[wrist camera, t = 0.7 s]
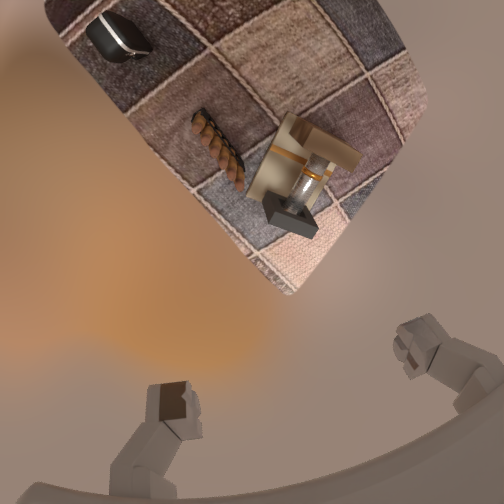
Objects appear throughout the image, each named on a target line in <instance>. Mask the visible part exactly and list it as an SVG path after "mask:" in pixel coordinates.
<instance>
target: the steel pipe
mask: <svg viewBox="0 0 504 504" xmlns="http://www.w3.org/2000/svg"><path fill="white" fill-rule="evenodd" d="M329 164H330V161H328V160H327V159H325V158H323V157H321V156H319V155H317V154H315V153H313V152H312V154H311V155H310V157H309V159H308V161H307V163H306V165H304V166H303V168H302V170H301V171H302V172H301V174H300V175H299V177H298V179H297V181H296V183H295V184H294V186H293V188H292V190H291V192H290V193H289V195H288V197H287V199H286V201H285V202H284V204H283V206H282V209H283V210H285V211H287V212H290V213H292V214H295V215H297V216H299V215H300V213H301V212H302V210H303V208H304V207H305V205H306V203H307V202H308V200H309V198H310V196H311V195H312V193H313V191H314V190H315V188H316V186H317V184H318V183H319V181H321V180H322V178H323V174H324V172H325V171H326V169H327V167H328V165H329ZM284 230H285V229H284Z"/></svg>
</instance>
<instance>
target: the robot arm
mask: <svg viewBox="0 0 504 504" xmlns="http://www.w3.org/2000/svg"><path fill="white" fill-rule="evenodd" d="M396 332H397V334H398V335H397V336H396V338H395V339H394V342H393V350H394V353H395V355H396V357H397V359H398V360H399V361H401V362H403V363H404V365H403V369H404V370H405V372H406V374H407V375H408V377H409V378H410V380H411V379H414V378H416V377H418V376H420V375H422V374H425V373H427V374H428V375H430V376H431V377H433V378H435V379H436V380H438V381H440V382H441V383H443V384H444V385H446V386H448V387H449V388H451V389H453V390H454V391H456V392H458V393H459V395H458V396H457V398H456V399H455V400H454V403H453V406H454V407H455V409H456V411H457V413H458V414H459V415H458V416H456V417H454V418H453V419H451V420H450V421H448V422H446V423H445V424H443V425H441V426H440V427H438V428H436V429H434V430H432V431H431V432H429V433H427V434H425V435H423V436H421V437H419V438H418V439H416V440H414V441H412V442H410V443H408V444H406V445H404V446H401V447H399V448H397V449H395V450H393V451H390V452H388V453H386V454H384V455H382V456H379V457H377V458H374V459H372V460H369V461H367V462H364V463H362V464H359V465H356V466H354V467H351V468H348V469H345V470H342V471H339V472H336V473H333V474H329V475H326V476H323V477H319V478H316V479H312V480H309V481H305V482H301V483H297V484H293V485H289V486H284V487H279V488H275V489H269V490H264V491H258V492H252V493H246V494H238V495H231V496H221V497H209V498H192V499H177V490H176V486H175V485H174V484H173V483H171V482H170V481H168V480H166V479H165V478H163V477H164V475H165V473H166V471H167V469H168V467H169V465H170V464H171V462H172V460H173V458H174V456H175V454H176V452H177V450H178V449H179V447H180V445H181V443H182V441H184V440H192V439H200V438H203V436H202V423H201V422H200V420H199V419H198V417H199V416H200V414H201V408H200V404H199V399H198V396H197V394H196V392H195V391H193V390H191V384H190V383H189V381H182V382H174V383H164V384H155V385H149V387H148V389H147V402H146V416H145V422H144V423H141V424H140V426H139V427H138V428H137V430H136V431H135V432H134V434H133V435H132V437H131V438H130V439H129V441H128V442H127V443H126V445H125V446H124V447H123V449H122V450H121V451H120V453H119V454H118V456H117V457H116V458H115V460H114V461H113V462H112V464H111V467H110V485H109V495H103V494H95V493H89V492H83V491H78V490H72V489H68V488H63V487H59V486H54V485H51V484H47V483H43V482H35V483H34V484H32V485H31V486H30V487H29V488H28V489H27V490H26V491H25V492H24V493H23V494H22V495H21V496H20V498H19V499H18V500H17V502H16V504H504V365H503V364H502V362H501V361H500V360H499V358H498V357H497V356H496V355H494V354H492V353H489V352H487V351H485V350H482V349H480V348H478V347H475V346H473V345H471V344H468V343H466V342H464V341H461V340H459V339H456V338H451V337H450V336H449V335H448V333H447V332H446V331H445V330H444V329H443V327H442V326H441V325H440V324H439V322H438V321H437V320H436V319H435V318H434V317H433V316H432V314H430V313H428V314H425V315H423V316H421V317H417V318H415V319H413V320H410V321H408V322H406V323H403V324H401V325H399V326H398V327H397V330H396Z"/></svg>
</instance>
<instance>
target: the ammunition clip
mask: <svg viewBox="0 0 504 504" xmlns="http://www.w3.org/2000/svg"><path fill="white" fill-rule="evenodd" d="M191 123H192V132H193V133H194V134H198V133H200V138H201V143H202V145H203V146H208V145H209V150H210V155H211V156H212V157H213V158H217V160H218V164H219V167H220V168H221V169H222V170H224V169H225V171H226V173H227V177H228V178H229V180H231V181H234V184H235V187H236V189H237V190H238V191H239V192H242V191H243V189H244V179H245V176H244V172H245V166H244V162H243V160H242V158H241V157H240V156H239V154H238V153H237V152H236V150H235V149H234V148H233V146H232V145H231V143H230V142H229V141H228V139H227V138H226V137H225V135H224V134H223V133H222V131H221V130H220V129H219V127H218V126H217V125H216V123H215V122H214V121H213V119H212V118H211V117H210V115H209V114H208V113H207V111H206V110H205V109H204V108H202V109H200V110H199V111H197V112H196V113H195V114H193V117H192V120H191Z"/></svg>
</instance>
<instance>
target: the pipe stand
mask: <svg viewBox="0 0 504 504" xmlns="http://www.w3.org/2000/svg"><path fill="white" fill-rule="evenodd" d="M312 152H313V153H315V154H317V155H319V156H321V157H323V158H325V159H327V160H328V161H330V164H329V165H328V167H327V169H326V171H325V172H324V174H323V178H322V180H321V181H319V183H318V184H317V186H316V188H315V190H314V191H313V193H312V195H311V196H310V198H309V200H308V202H307V203H306V206H307V208H308V210H309V211H310V209H311V207H312V206H313V204H314V202H315V201H316V199H317V197H318V196H319V194H320V192H321V191H322V189H323V187H324V185H325V184H326V182H327V180H328V179H329V177H330V176H331V174H332V172H333V170H334V168H335V167H336V165H338V166H340V167H342V168H344V169H346V170H347V171H349V172H351V173H353V171H354V169H355V168H356V166H357V164H358V163H359V161H360V159H361V157H362V156H363V154H361V153H360V152H359V151H357V150H356V149H354V148H353V147H351V146H350V145H349V144H348V143H347V142H345V141H344V140H342V139H340V138H338V137H336V136H335V135H333V134H331V133H329V132H327V131H326V130H324V129H322V128H320V127H318V126H316V125H314V124H312V123H310V122H308V121H306V120H304V119H302V118H300V117H298V116H296V115H294V114H292V113H290V112H288V111H287V113H286V115H285V116H284V118H283V120H282V122H281V124H280V126H279V128H278V130H277V132H276V134H275V136H274V138H273V140H272V142H271V144H270V146H269V148H268V150H267V152H266V154H265V156H264V158H263V160H262V162H261V164H260V166H259V168H258V170H257V172H256V174H255V176H254V178H253V180H252V182H251V184H250V186H249V188H248V190H247V192H246V197H249V198H252V199H254V200H257V201H260V202H262V199H263V197H264V196H265V194H266V192H267V190H269V191H271V192H274V193H277V194H279V195H281V196H284V197H286V198H287V197H288V195H289V193H290V192H291V190H292V188H293V186H294V184H295V183H296V181H297V179H298V177H299V175H300V174H301V172H302V171H301V170H302V168H303V166H304V165H306V163H307V161H308V159H309V157H310V155H311V154H312Z"/></svg>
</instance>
